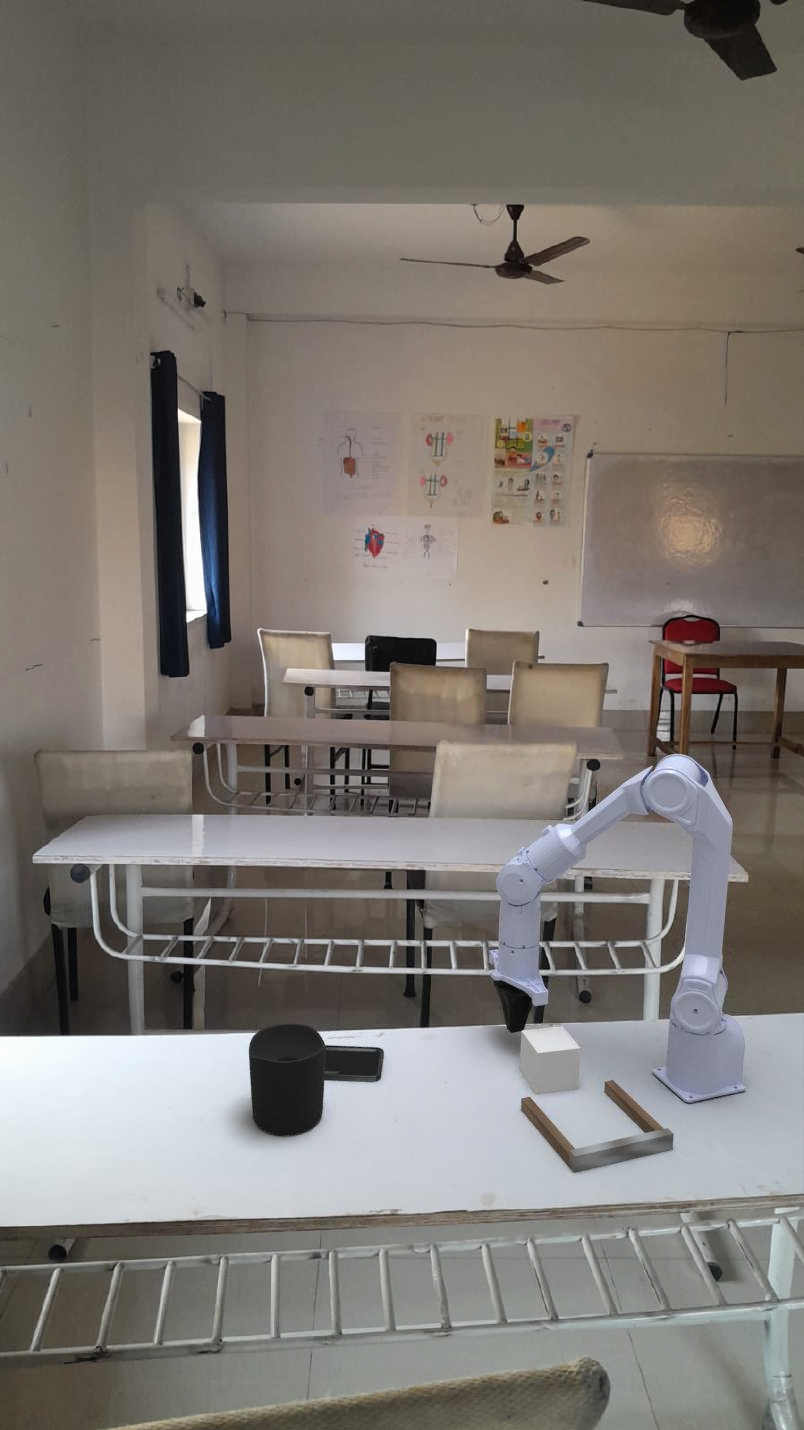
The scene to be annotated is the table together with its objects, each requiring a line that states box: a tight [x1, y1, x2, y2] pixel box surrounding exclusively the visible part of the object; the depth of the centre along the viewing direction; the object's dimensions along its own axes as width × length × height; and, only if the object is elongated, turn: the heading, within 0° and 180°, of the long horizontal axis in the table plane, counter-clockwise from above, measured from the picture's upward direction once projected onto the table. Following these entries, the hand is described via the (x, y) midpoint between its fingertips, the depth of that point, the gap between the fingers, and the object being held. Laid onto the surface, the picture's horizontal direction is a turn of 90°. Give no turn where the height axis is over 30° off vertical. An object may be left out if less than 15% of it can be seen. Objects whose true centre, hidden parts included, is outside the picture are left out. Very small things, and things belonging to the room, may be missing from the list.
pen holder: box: [248, 1023, 327, 1137], centre depth 119 cm, size 9×9×10 cm
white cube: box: [519, 1025, 581, 1095], centre depth 129 cm, size 6×6×6 cm
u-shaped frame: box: [520, 1079, 675, 1173], centre depth 119 cm, size 13×13×2 cm
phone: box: [324, 1044, 385, 1083], centre depth 132 cm, size 8×1×15 cm
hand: (515, 1029), depth 138 cm, fingers closed
